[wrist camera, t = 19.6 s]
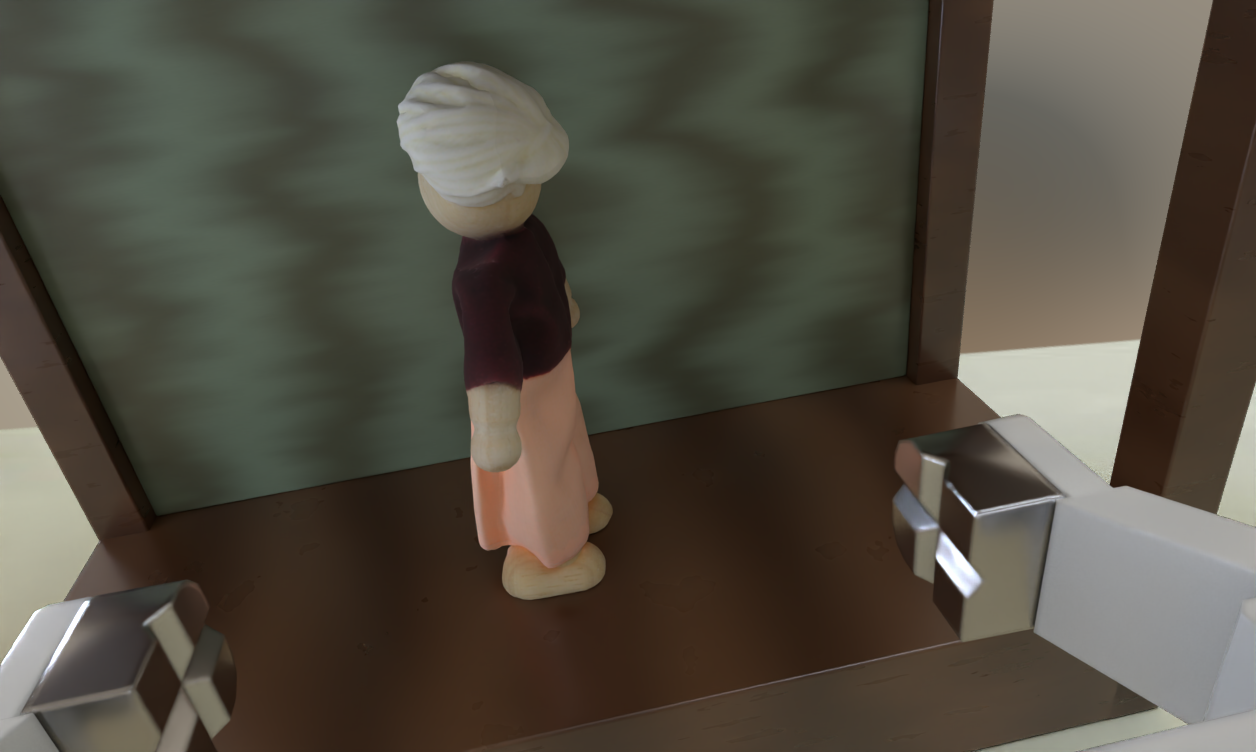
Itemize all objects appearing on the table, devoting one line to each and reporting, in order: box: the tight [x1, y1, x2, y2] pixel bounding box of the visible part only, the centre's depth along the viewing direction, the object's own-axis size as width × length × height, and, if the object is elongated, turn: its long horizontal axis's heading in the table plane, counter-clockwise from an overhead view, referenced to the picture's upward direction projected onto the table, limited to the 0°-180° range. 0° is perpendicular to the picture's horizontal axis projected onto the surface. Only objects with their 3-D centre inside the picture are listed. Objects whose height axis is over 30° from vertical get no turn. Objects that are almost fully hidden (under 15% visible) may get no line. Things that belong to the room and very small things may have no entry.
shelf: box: [0, 0, 1256, 752], centre depth 19 cm, size 28×12×24 cm, turn 100°
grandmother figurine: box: [397, 62, 613, 600], centre depth 19 cm, size 8×4×13 cm, turn 5°
